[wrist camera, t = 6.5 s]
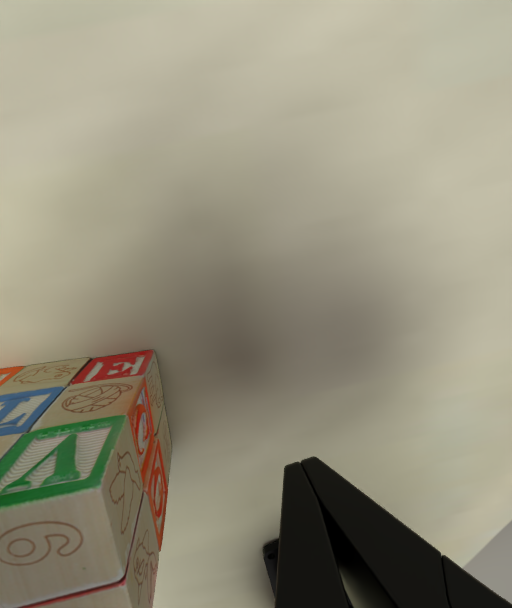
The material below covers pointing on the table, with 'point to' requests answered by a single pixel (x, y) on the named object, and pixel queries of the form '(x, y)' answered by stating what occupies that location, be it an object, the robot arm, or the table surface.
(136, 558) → the stack of blocks
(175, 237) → the table surface
